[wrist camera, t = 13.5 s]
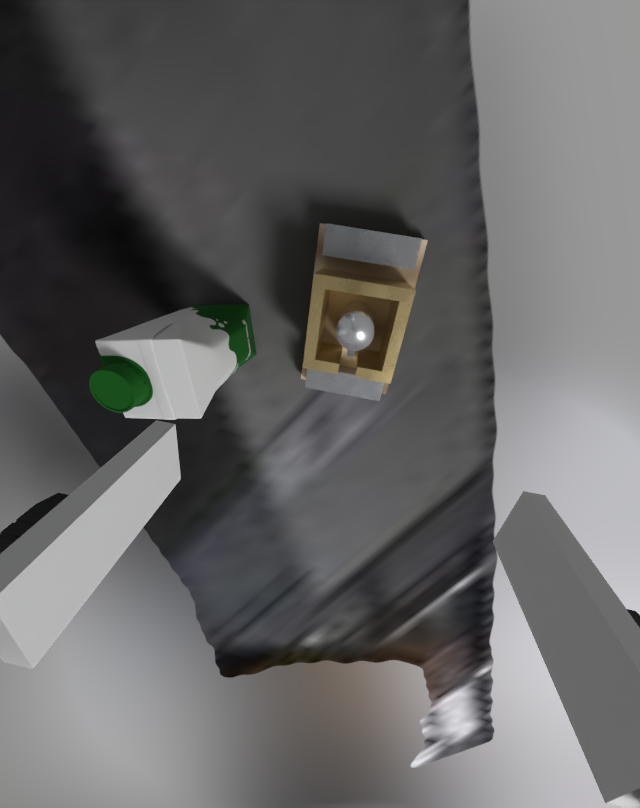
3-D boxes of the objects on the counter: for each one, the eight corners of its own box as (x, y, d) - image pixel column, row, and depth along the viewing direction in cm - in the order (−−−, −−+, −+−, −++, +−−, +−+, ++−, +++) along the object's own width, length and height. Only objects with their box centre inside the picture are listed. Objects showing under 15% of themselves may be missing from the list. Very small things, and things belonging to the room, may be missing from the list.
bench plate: (321, 223, 36) (319, 223, 34) (425, 240, 35) (427, 240, 34) (302, 374, 45) (300, 378, 43) (385, 389, 44) (385, 394, 43)
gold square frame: (322, 268, 36) (313, 273, 30) (407, 281, 36) (415, 290, 30) (311, 349, 41) (302, 368, 35) (386, 362, 41) (390, 383, 34)
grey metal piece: (328, 224, 34) (320, 220, 28) (418, 238, 34) (430, 237, 28) (307, 379, 43) (298, 402, 37) (378, 392, 43) (381, 418, 37)
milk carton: (190, 299, 42) (63, 340, 24) (255, 296, 40) (171, 338, 23) (205, 361, 46) (105, 435, 28) (264, 360, 44) (199, 438, 27)
